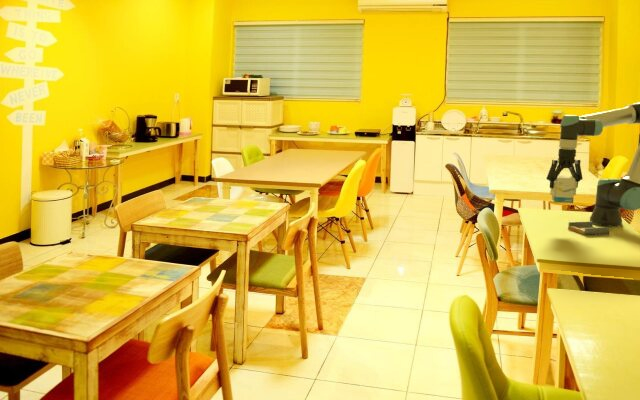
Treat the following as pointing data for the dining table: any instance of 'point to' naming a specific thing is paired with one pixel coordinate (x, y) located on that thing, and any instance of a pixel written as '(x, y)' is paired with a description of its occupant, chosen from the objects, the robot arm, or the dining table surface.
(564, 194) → the ink box
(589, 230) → the grey and orange tray
